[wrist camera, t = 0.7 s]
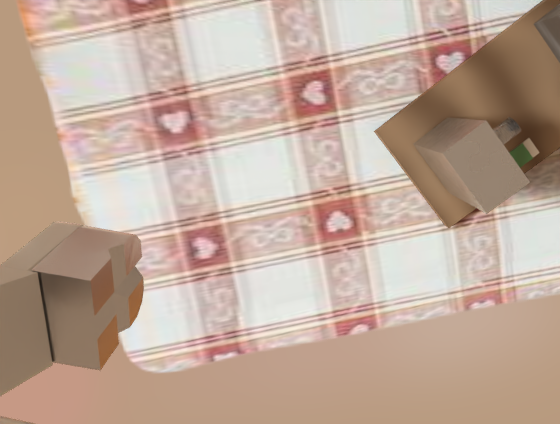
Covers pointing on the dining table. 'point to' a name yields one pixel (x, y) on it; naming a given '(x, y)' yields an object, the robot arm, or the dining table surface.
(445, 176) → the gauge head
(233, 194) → the dining table surface
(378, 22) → the dining table surface
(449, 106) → the base
